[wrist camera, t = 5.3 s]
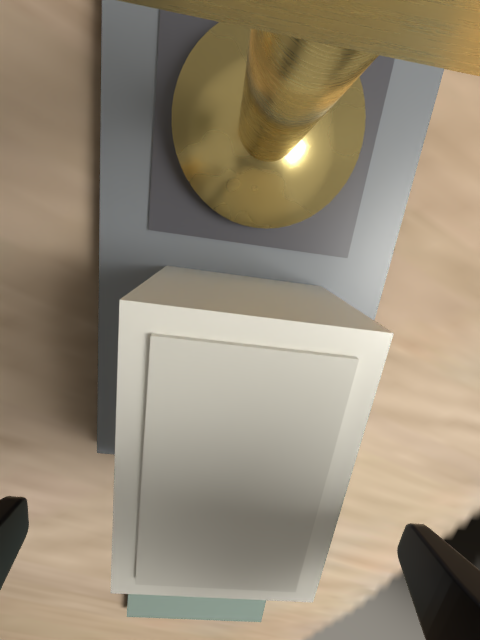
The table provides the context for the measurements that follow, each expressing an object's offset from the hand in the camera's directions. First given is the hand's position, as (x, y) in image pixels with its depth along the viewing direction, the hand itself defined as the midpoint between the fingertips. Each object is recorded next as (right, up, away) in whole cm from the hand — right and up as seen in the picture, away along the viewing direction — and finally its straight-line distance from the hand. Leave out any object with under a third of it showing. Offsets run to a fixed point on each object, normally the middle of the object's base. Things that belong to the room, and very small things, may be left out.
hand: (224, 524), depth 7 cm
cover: (0, +3, +5) cm, 5 cm away
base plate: (0, +7, +4) cm, 8 cm away
